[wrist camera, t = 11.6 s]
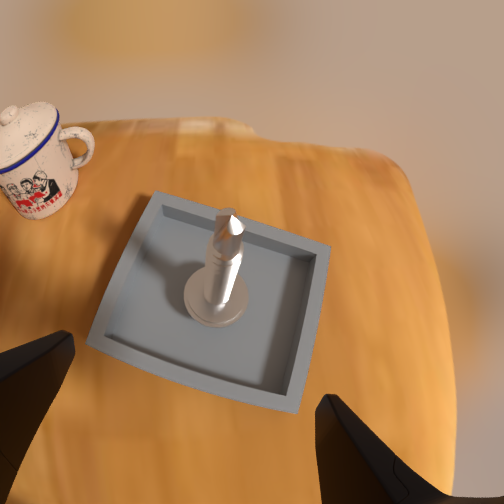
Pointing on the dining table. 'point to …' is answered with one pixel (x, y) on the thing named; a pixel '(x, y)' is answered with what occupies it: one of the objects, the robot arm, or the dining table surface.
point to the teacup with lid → (39, 159)
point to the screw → (219, 276)
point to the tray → (205, 338)
